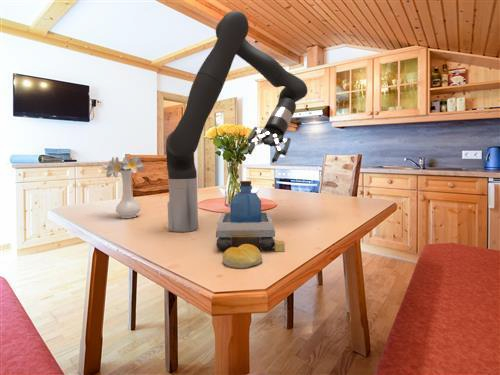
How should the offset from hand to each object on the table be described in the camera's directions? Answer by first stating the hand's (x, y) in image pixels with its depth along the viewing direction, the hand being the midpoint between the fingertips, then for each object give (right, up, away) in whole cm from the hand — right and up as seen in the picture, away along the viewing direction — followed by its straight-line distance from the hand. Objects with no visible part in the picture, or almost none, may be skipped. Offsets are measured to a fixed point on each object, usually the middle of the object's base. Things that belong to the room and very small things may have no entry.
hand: (261, 157), depth 97 cm
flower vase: (-54, -23, +21) cm, 62 cm away
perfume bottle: (-5, -21, -16) cm, 27 cm away
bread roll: (-5, -28, -29) cm, 41 cm away
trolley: (-4, -26, -16) cm, 31 cm away
